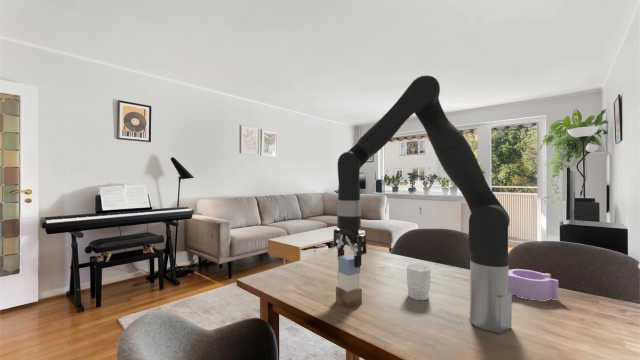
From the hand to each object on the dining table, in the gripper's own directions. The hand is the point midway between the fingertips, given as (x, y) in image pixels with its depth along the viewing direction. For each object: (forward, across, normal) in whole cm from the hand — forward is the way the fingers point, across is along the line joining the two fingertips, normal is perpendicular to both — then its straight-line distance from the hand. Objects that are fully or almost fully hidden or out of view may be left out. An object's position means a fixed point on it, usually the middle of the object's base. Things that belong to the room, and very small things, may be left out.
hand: (348, 263), depth 96 cm
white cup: (+13, -9, -23) cm, 28 cm away
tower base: (+13, 0, 0) cm, 13 cm away
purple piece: (+13, -26, -56) cm, 63 cm away
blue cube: (+3, 0, 0) cm, 3 cm away
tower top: (+8, 0, 0) cm, 8 cm away
